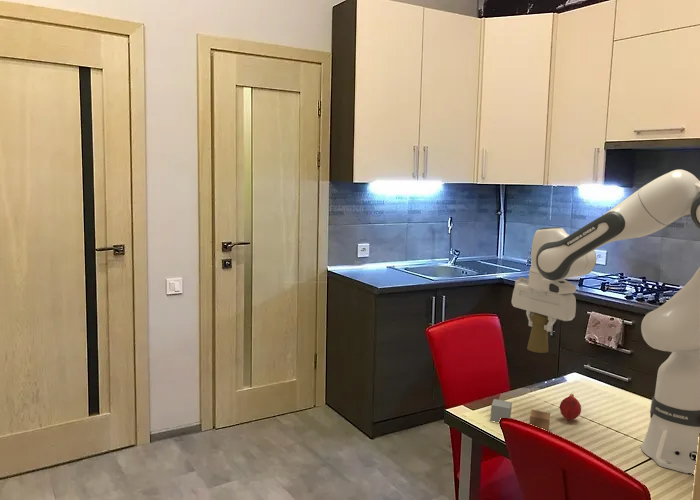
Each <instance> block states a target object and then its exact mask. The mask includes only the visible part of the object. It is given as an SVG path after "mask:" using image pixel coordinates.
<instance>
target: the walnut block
mask: <svg viewBox="0 0 700 500" xmlns="http://www.w3.org/2000/svg"><path fill="white" fill-rule="evenodd" d="M550 422H551V412H545V411H540V410H535V409H531V412H530V415H529V424H532V425H534V426H537V427H539V428H543V429H545V430H547V431H549V430H550V424H551V423H550Z"/></svg>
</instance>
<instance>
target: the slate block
mask: <svg viewBox="0 0 700 500" xmlns="http://www.w3.org/2000/svg"><path fill="white" fill-rule="evenodd" d="M512 404H513V403H512V401H507V400H503V399H496V398H493V400H492V403H491V407H490V416H489V417H490V418H489V419H490V420H489V422H490V421H495V422H499V420H500V418H510V419H511V414H512V413H511V412H512Z"/></svg>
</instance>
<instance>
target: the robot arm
mask: <svg viewBox="0 0 700 500" xmlns="http://www.w3.org/2000/svg"><path fill="white" fill-rule="evenodd" d="M688 215H690V218H691V220H692V221H693V223H694V225H695V226H696V227H697V228H698V229H699V230H700V180H699V179H698V178H697V177H696V175H694V174H693V173H691V172H689V171H687V170H684V169H674V170H671V171H669V172H666V173H664V174H663V175H661V176H658V177H656V178H655V179H653V180H651V181H650V182H648V183H646V184H645V185H643V186H642V187H640V188H639V189H638V190H636V191H635V192H633V193H632V194H631V195H629V196H628V197H627V198H625V199H623V200H622V201H620V203H618V204H617V205H615V206H614V207H612V208H611V209H609V210H608V211H606V212H605V213H604V214H603V215H601V216H598V217H597V218H596V219H594V220H592V221H590V222H589V223H588V224H586V225H584V226H582V227H581V228H579V229H578V230H576V231H574V232H573V233H571V234H569V233H567V231H566V230H565V229H564V228H563V227H560V226H554V227H553V226H552V227H550V226H547V227H540V228H537V230H536V231H535V233H534V235H533V239H532V243H531V251H530V260H531V266H530V268H529V272H528V278H527V277H526V278H525V277H523V276H522V277H521V276H519V277H518V278H516V280H515V281H514V288H513V290H512V296H511V306H513V307H514V308H516V309H520V310H523V311H526V312H525V313H526V317H527V320H528V327H531V328H532V325H533V323H532V320H531V317H532V315H533V314H534V313H538V314H541V315H545V316H548V320H549V322H548V324H547V325H544V331H547V332H548V333H549V332H552V329H553V325H554V324H555V323H556V321H557V320H559V321H563V322H568V321H569V322H570V321H573V319H574V318H575V317H576V310H577V301H576V299H577V297H576V296H575V294H574V293H576V291H577V286H575V284H573V283H571V282H569V281H568V280H566V278H575V277H582V276H586V275H589V274H590V273H591V272H593V270H594V269H595V267H596V265H597V254H596V251H595V250H596V249H598V248H600V247H602V246H604V245H607V244H609V243H613V242H616V241H622V240H623V241H624V240H629V239H630V240H631V239H637V238H643V237H646V236H649V235H651V234H654V233H657V232H659V231H660V230H663V229H664V228H666V227H667V226H669V225H671V224H672V223H674V222H675V221H677V220H678V219H680V218H683V217H684V216H688ZM640 329H641V330H640V331H641V336H642V338H643V340H644V341H645V343H646V344H647V345H648V346H649V347H650V348H653V349H654V350H659V351H663V352H668V353H669V352H670V355H669V356H668V358H667V359H666V360H665V361H664V362H662V363H661V365H660V366H659V367H658V370H657V375H656V376H657V377H656V383H655V391H654V396H653V397H652V399H651V404H650V410H649V413H650V414H649V415H650V416H649V417H650V420H649V425H648V428H647V430H646V431H647V432H646V434H645V437H644V438H643V440H642V442H641V445H640V449H641V451H642V452H643V453H644V454H645V455H646V456H648V457H649V458H651V459H652V460H653V461H654V462H655V463H656V464H657V465H658V466H659V467H662V468H666V469H669V470H673V471H677V472H681V473H684V474H688V473H692V474H693V473H694V470H695V463H696V455H697V445H698V437H699V433H700V266H699V267H698V269H697V270H696V271H695V273H694V274H693V276H692V277H691V278H690V279H689V281H688V282H687V283H686V284H685V285H684V286H682V288H680V289H679V290H678V291H677V292H676V293H674V295H673V296H672V297H670V298H669V299H668V300H667V301H665V302H664V303H663V304H661V305H660V306H659V307H657V308H655V309H653V310H652V311H649V312H647V313H646V314H645V316H644V317H643V319H642V321H641V325H640ZM692 474H691V475H692ZM692 476H695V475H694V474H693V475H692Z"/></svg>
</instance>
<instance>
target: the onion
mask: <svg viewBox="0 0 700 500" xmlns="http://www.w3.org/2000/svg"><path fill="white" fill-rule="evenodd" d="M559 411H560V415H562V417H563V418H564V419H566V421H568V422H571V421H573V420H575V419H577V418H578V417H579V416H580V415H581V413H582V406H581V403H580V401H579V400H578V399H577V398H576V397H575V396H574V393H570V394H569V396H566V397H565V398H563V399H562V400H561V402H560V404H559Z"/></svg>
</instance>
